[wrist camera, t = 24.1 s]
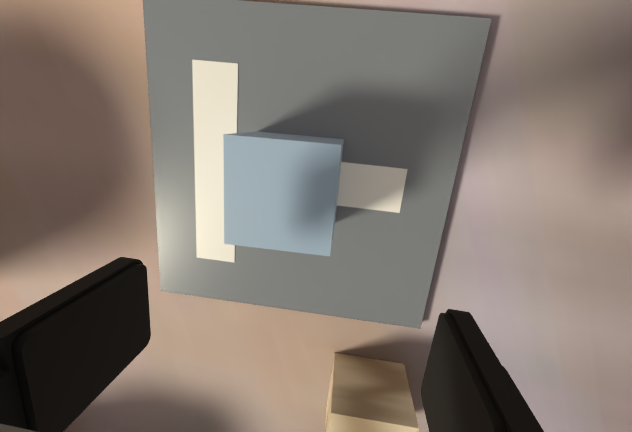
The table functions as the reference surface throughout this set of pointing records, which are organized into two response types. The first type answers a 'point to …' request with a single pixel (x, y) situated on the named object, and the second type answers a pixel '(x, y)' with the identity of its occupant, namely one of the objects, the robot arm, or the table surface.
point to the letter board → (310, 120)
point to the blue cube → (281, 191)
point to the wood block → (369, 396)
